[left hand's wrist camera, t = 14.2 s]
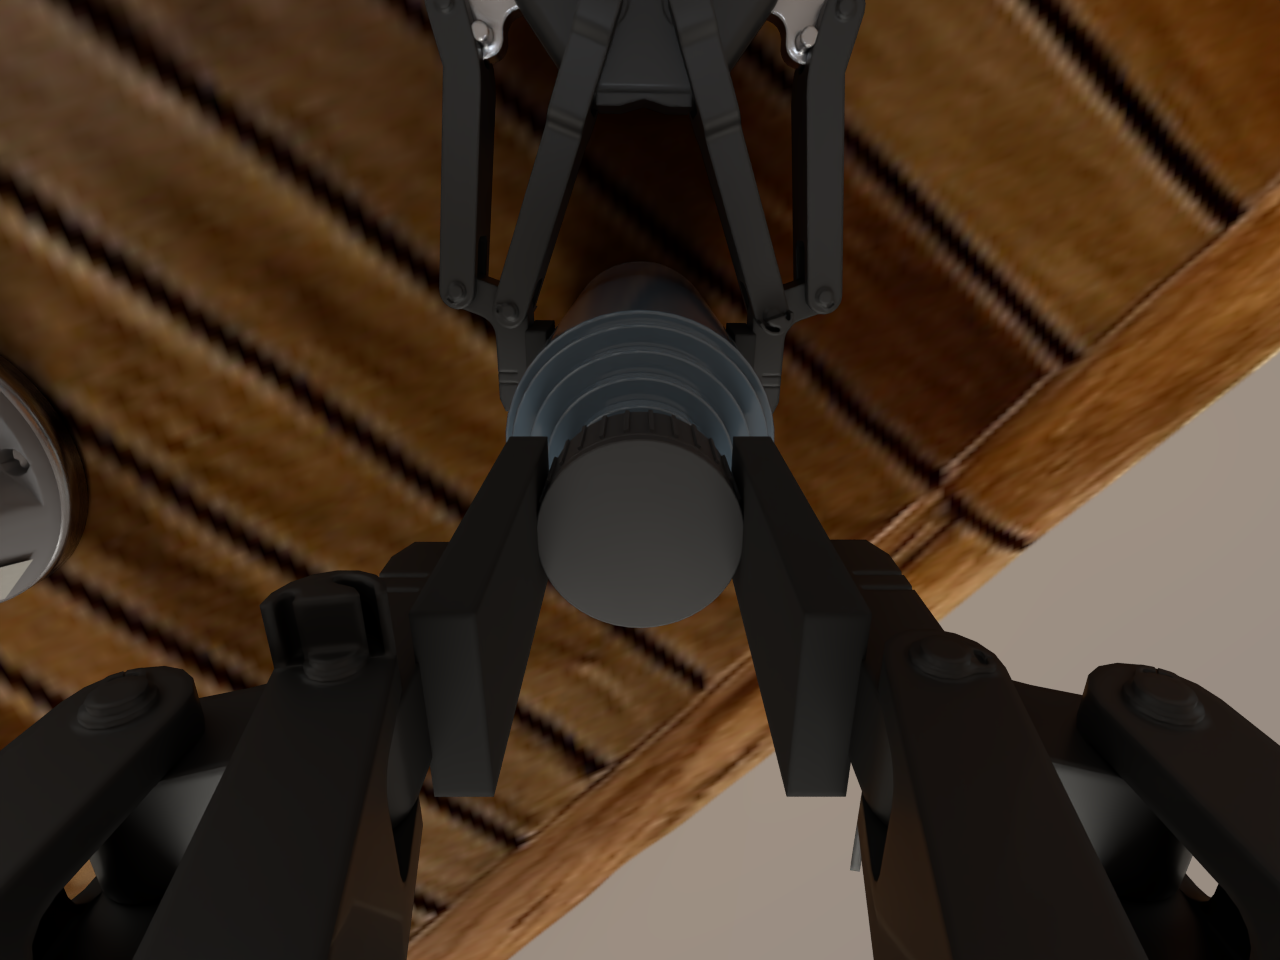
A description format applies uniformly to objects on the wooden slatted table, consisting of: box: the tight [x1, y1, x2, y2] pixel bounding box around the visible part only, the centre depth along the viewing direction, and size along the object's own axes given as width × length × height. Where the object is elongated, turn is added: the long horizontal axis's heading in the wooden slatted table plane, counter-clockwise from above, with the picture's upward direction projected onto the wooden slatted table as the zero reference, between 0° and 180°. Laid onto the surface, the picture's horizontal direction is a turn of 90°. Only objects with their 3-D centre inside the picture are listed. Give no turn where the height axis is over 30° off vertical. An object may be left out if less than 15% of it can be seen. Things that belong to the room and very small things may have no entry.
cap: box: [537, 410, 744, 628], centre depth 13 cm, size 4×4×2 cm
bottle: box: [506, 261, 774, 471], centre depth 23 cm, size 7×7×21 cm
